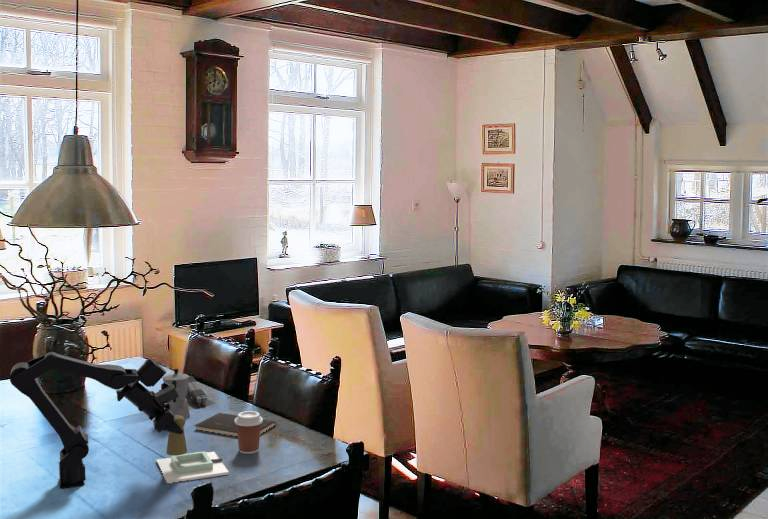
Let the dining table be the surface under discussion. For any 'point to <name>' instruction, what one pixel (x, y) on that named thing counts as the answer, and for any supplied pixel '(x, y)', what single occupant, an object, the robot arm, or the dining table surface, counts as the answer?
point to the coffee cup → (248, 431)
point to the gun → (196, 392)
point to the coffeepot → (181, 385)
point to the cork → (177, 439)
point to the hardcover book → (227, 424)
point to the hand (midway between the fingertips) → (181, 430)
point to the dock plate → (192, 466)
